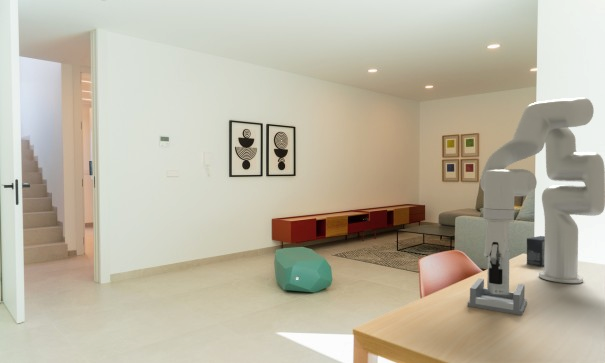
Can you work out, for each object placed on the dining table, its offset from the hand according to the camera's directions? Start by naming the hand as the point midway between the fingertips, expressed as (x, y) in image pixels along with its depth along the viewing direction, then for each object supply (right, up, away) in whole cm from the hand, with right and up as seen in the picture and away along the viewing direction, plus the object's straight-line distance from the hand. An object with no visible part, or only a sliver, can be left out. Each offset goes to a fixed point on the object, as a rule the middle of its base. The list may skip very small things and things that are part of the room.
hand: (497, 279), depth 111 cm
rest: (0, -7, 0) cm, 7 cm away
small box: (+41, -6, +50) cm, 65 cm away
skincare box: (0, -3, 0) cm, 3 cm away
